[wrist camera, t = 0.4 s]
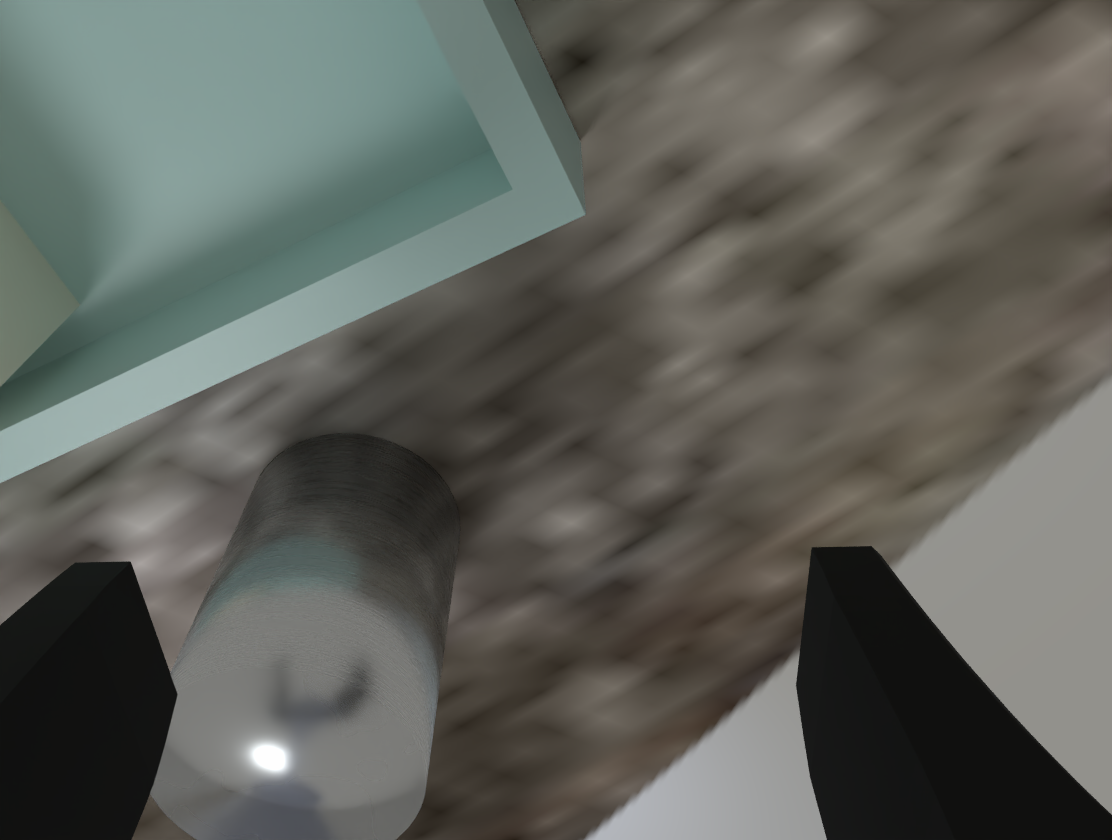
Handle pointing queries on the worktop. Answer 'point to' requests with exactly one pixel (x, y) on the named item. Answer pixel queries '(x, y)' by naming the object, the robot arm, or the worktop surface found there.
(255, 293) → the tote
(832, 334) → the worktop surface
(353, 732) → the tin can
